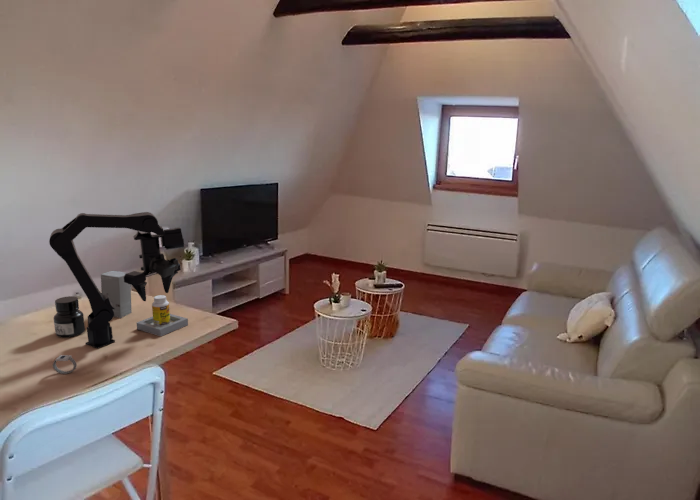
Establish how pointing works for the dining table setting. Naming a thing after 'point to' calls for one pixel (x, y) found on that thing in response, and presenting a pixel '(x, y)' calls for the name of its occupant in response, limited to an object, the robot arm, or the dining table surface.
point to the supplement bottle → (160, 311)
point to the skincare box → (117, 292)
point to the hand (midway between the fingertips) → (155, 296)
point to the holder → (175, 324)
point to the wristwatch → (64, 358)
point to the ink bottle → (68, 317)
